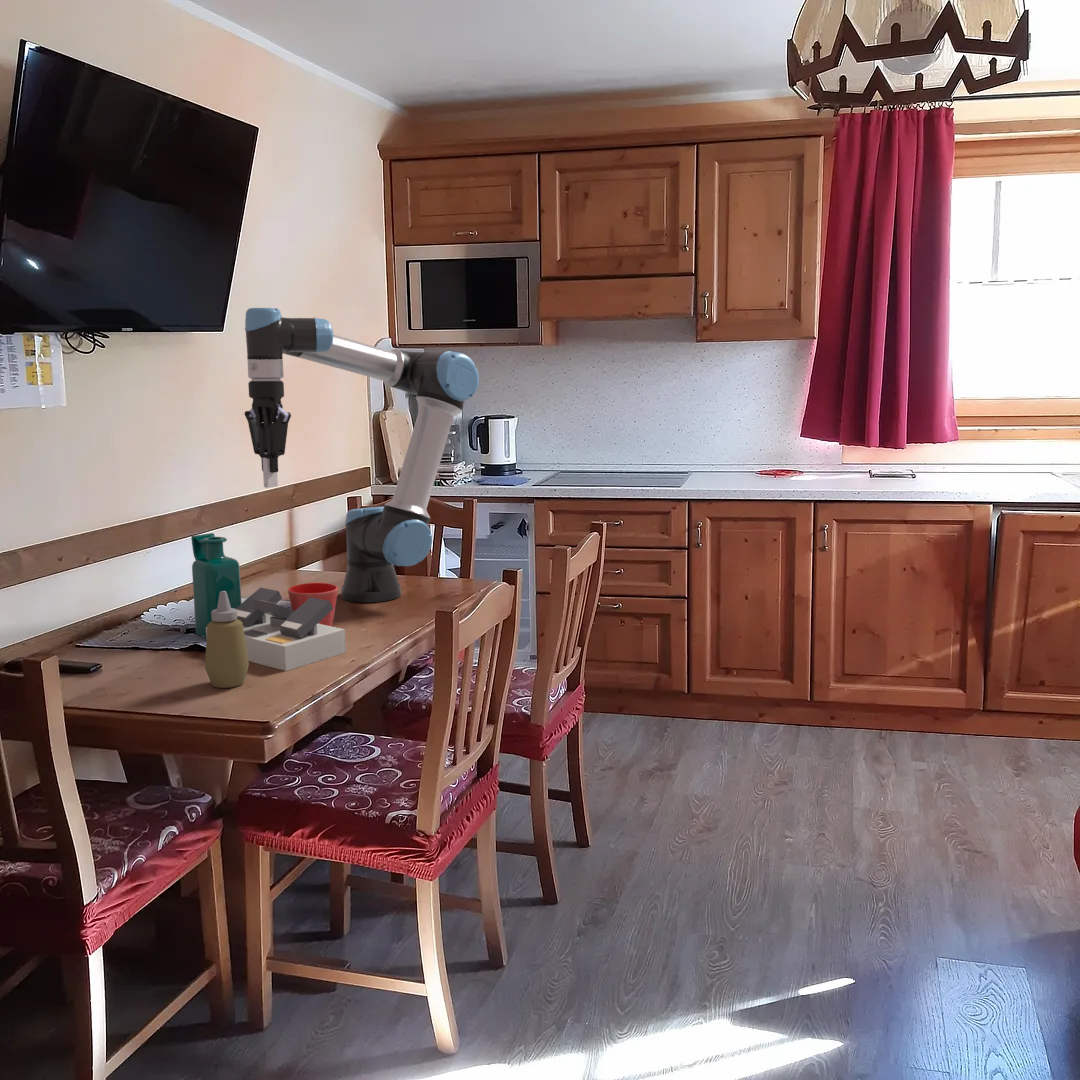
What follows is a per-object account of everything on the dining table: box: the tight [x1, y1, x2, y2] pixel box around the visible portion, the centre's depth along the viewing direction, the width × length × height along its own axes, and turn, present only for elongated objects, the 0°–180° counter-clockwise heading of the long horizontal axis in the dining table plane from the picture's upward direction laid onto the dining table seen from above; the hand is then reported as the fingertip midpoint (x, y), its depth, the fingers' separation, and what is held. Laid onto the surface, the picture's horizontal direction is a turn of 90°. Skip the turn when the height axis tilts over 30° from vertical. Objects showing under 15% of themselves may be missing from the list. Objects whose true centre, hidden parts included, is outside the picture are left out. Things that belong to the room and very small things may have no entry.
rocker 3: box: [278, 597, 333, 639], centre depth 218 cm, size 10×6×2 cm, turn 143°
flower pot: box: [287, 582, 339, 627], centre depth 240 cm, size 11×11×10 cm
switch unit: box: [205, 613, 347, 672], centre depth 222 cm, size 16×25×7 cm, turn 54°
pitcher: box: [190, 532, 243, 638], centre depth 235 cm, size 10×8×22 cm
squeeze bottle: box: [204, 591, 250, 689], centre depth 200 cm, size 8×8×18 cm
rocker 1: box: [236, 587, 283, 627], centre depth 227 cm, size 10×6×2 cm, turn 143°
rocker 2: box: [252, 600, 295, 619], centre depth 223 cm, size 10×6×2 cm, turn 145°
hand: (270, 486), depth 236 cm, fingers closed
